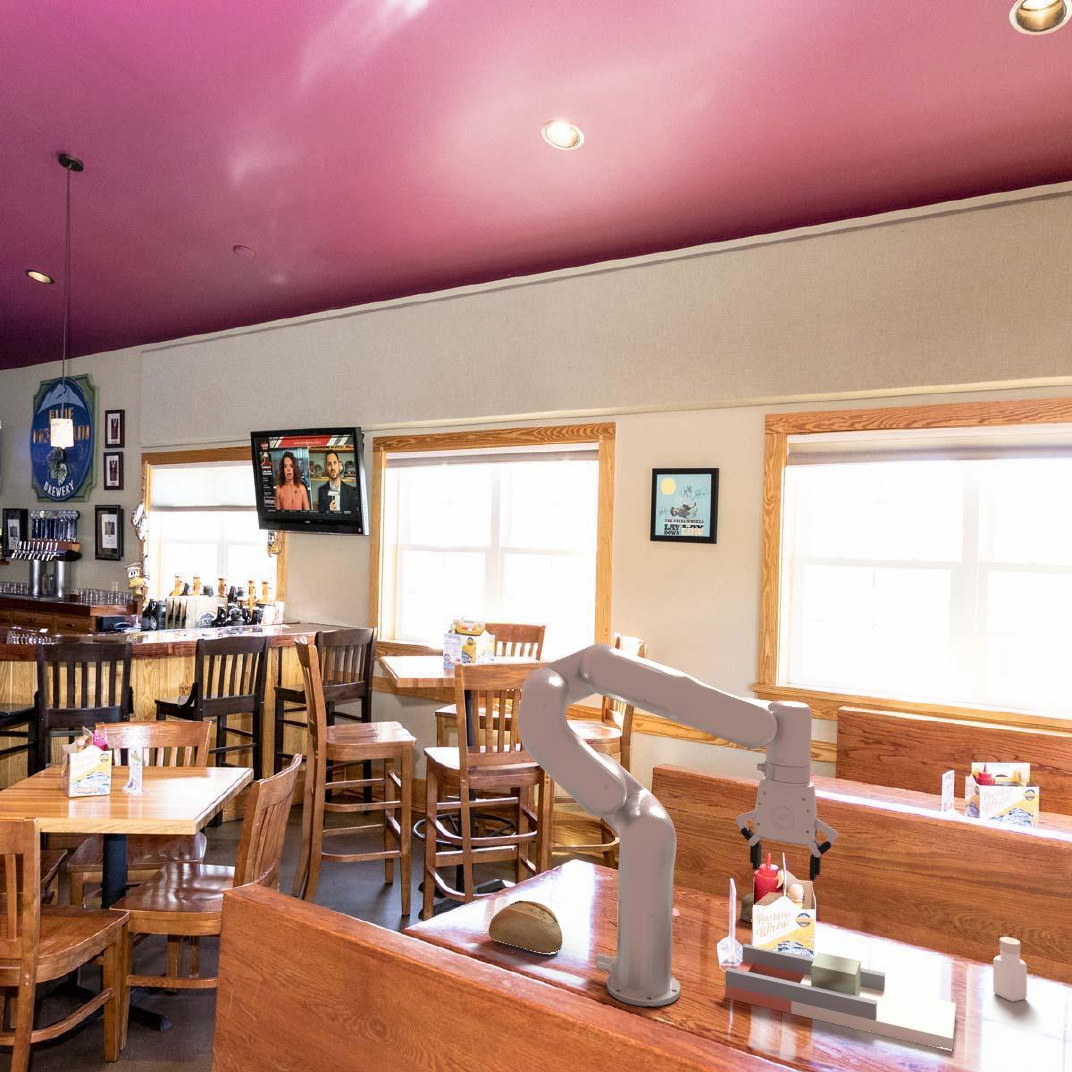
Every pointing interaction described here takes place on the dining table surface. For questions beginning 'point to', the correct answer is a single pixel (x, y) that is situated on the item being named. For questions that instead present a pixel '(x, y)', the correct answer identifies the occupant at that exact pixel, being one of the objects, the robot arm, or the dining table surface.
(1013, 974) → the salt shaker
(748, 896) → the stone block
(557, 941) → the bread roll
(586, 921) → the dining table surface
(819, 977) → the sage block
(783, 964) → the track
